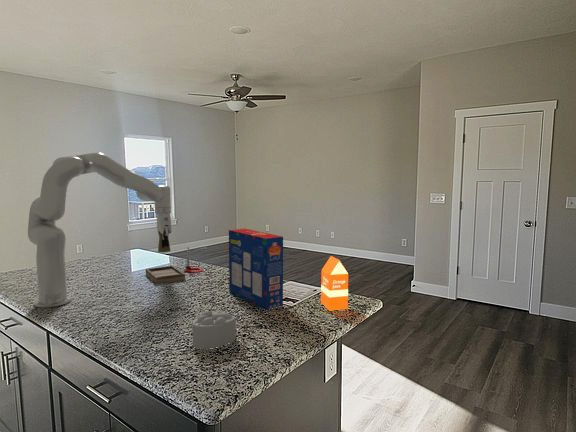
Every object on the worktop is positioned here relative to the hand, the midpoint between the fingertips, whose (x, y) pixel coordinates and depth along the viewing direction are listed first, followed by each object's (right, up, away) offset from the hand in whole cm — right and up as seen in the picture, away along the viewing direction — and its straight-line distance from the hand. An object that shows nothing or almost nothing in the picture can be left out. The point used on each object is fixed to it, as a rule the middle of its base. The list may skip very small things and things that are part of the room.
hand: (164, 246), depth 184 cm
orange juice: (+80, -21, -41) cm, 92 cm away
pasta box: (+48, -20, -31) cm, 61 cm away
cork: (0, -3, 0) cm, 2 cm away
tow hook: (+11, -15, +15) cm, 24 cm away
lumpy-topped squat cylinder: (+39, -24, -70) cm, 84 cm away
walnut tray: (0, -16, +2) cm, 16 cm away
